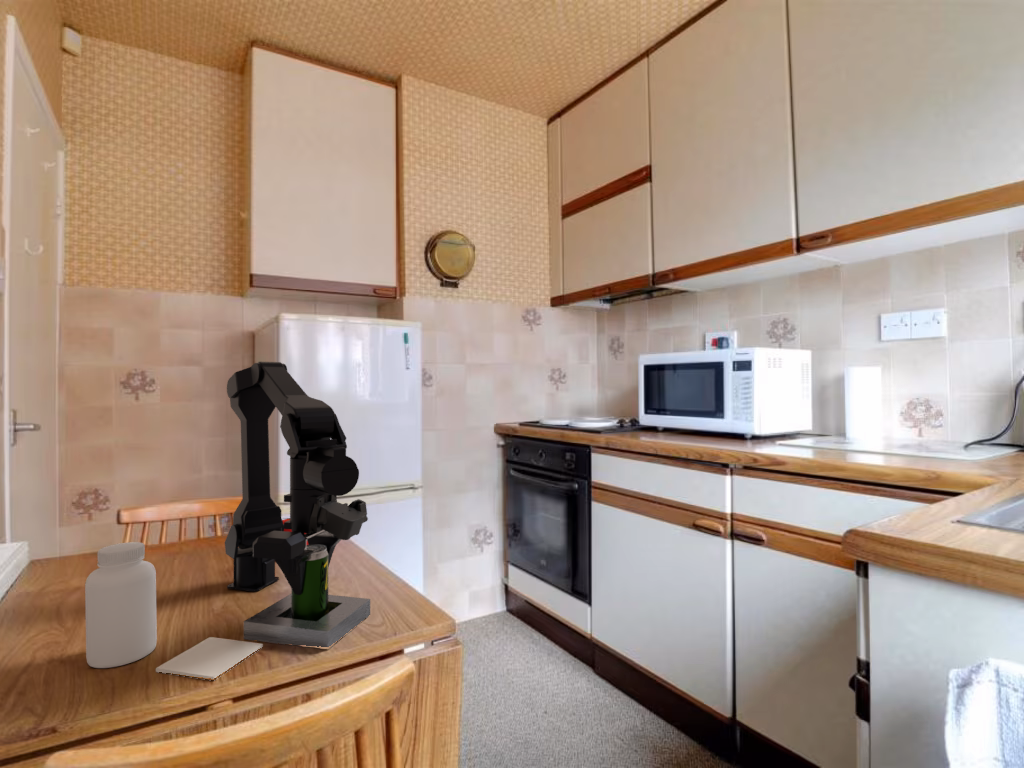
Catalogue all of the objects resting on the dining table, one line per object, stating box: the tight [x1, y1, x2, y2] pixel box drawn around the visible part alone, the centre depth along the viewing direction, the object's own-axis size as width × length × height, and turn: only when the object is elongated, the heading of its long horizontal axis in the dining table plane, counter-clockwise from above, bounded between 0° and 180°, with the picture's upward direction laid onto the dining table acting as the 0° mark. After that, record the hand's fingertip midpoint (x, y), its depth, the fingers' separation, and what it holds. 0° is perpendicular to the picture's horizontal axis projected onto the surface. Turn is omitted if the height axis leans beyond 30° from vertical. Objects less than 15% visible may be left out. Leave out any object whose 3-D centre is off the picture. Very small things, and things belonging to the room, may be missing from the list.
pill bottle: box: [84, 541, 158, 669], centre depth 75 cm, size 8×8×15 cm
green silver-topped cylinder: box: [290, 544, 329, 621], centre depth 83 cm, size 5×5×12 cm
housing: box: [243, 593, 371, 647], centre depth 83 cm, size 14×12×3 cm
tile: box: [155, 636, 264, 679], centre depth 74 cm, size 9×9×1 cm
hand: (310, 587), depth 83 cm, fingers closed on green silver-topped cylinder, 5 cm apart
